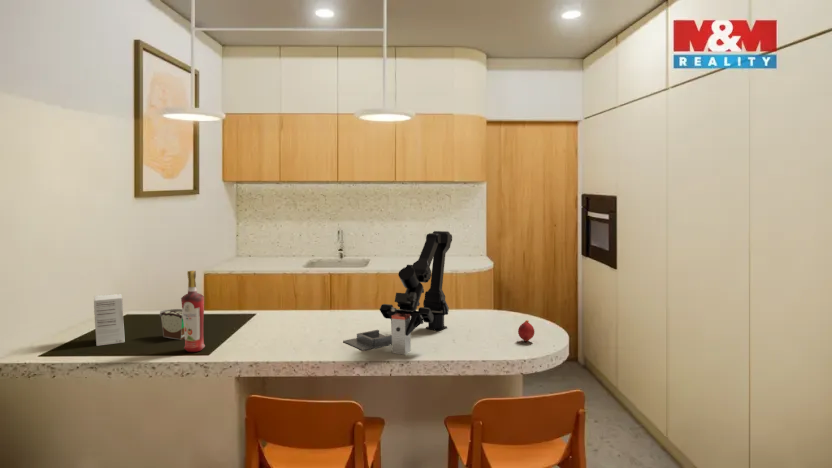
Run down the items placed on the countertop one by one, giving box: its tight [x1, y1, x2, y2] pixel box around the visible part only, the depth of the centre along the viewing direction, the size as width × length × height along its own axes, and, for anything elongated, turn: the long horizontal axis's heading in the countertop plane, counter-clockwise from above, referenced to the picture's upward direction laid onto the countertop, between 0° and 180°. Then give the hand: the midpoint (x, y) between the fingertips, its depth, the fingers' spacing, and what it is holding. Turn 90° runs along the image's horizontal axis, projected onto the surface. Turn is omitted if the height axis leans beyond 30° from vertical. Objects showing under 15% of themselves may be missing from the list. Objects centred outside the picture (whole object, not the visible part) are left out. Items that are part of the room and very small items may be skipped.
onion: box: [517, 319, 535, 342], centre depth 199 cm, size 6×6×8 cm
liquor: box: [180, 270, 206, 353], centre depth 190 cm, size 7×7×28 cm
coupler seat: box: [342, 329, 392, 352], centre depth 200 cm, size 16×14×3 cm
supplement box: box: [93, 293, 126, 347], centre depth 202 cm, size 10×9×17 cm
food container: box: [159, 308, 185, 341], centre depth 209 cm, size 12×6×10 cm, turn 65°
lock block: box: [391, 313, 412, 356], centre depth 187 cm, size 5×5×13 cm
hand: (399, 334), depth 186 cm, fingers closed on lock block, 5 cm apart
